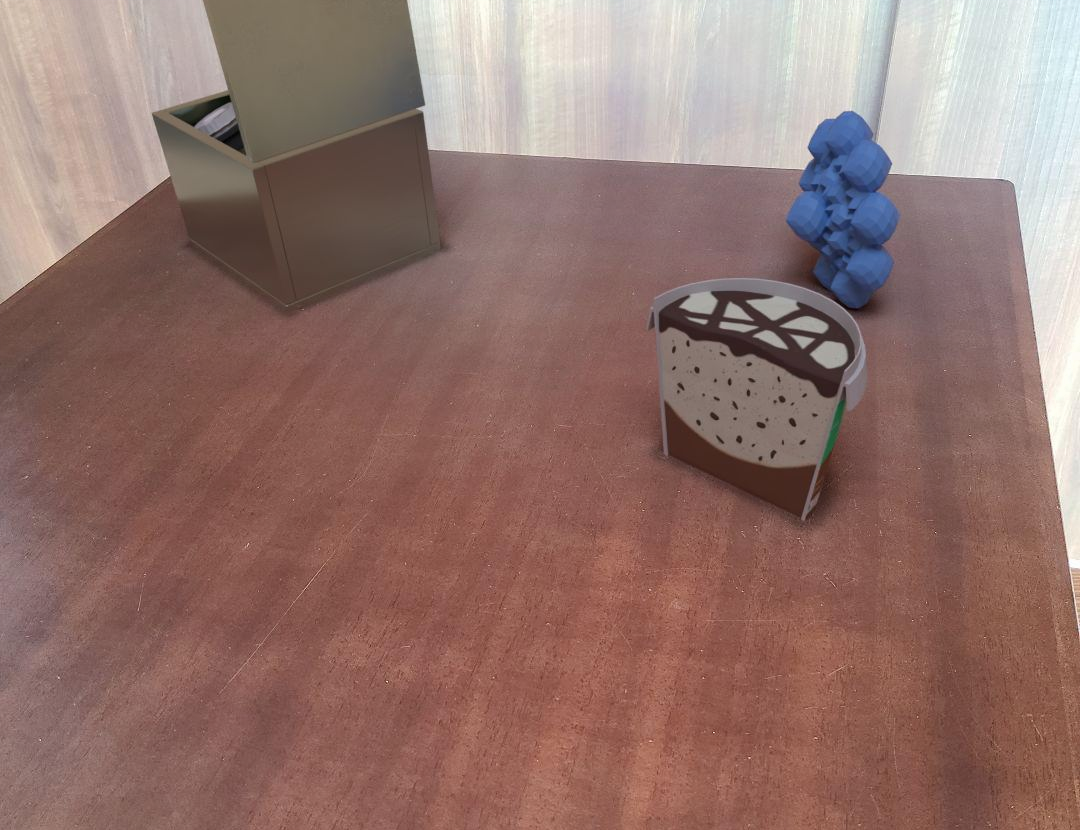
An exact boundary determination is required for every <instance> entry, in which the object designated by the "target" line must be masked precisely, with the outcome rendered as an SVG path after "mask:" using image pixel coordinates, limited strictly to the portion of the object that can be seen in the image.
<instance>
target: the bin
mask: <svg viewBox="0 0 1080 830" xmlns="http://www.w3.org/2000/svg"><path fill="white" fill-rule="evenodd" d="M228 103H231V98H230V95H229V91H228V89H227V90H223V91H220V92H216V93H214V94H213V93H212V94H209V95H207V96H204V97H199V98H197V99H194V100H191V101H190V100H189V101H187V102H183V103H179V104H176V105H174V106H173V105H172V106H170V107H166V108H163V109H160V110H156V111H153V112H151V116H152V120H153V123H154V126H155V129H156V133H157V137H158V139H159V142H160V146H161V149H162V153H163V156H164V159H165V162H166V166H167V169H168V173H169V176H170V179H171V182H172V186H173V189H174V192H175V195H176V199H177V202H178V205H179V209H180V212H181V215H182V219H183V222H184V226H185V228H186V232H187V236H188V239H189V241H190V245H191V246H192V247H193V248H194V249H195V250H197V251H198V252H200V253H201V254H203V255H204V256H206V257H207V258H208V259H210V260H211V261H213V262H214V263H215V264H217V265H218V266H219V267H220V268H223V269H224V270H225V271H226V272H228V273H230V274H231V275H232V276H234V277H236V278H237V279H238V280H240V281H241V282H243V283H244V284H246V285H247V286H248V287H250V288H251V289H252V290H254V291H256V292H257V293H258V294H259V295H261V296H262V297H264V298H266V299H267V301H269V302H271V303H272V304H274V305H275V306H276V307H278V308H279V309H280V310H282V311H284V312H285V313H287V314H290V313H293V312H295V311H297V310H300V309H302V308H305V307H307V306H309V305H311V304H314V303H316V302H318V301H321V300H324V299H326V298H329V297H331V296H333V295H335V294H339V293H340V292H342V291H345V290H347V289H350V288H353V287H354V286H357V285H359V284H362V283H365V282H367V281H369V280H372V279H374V278H376V277H379V276H381V275H383V274H386V273H388V272H391V271H394V270H396V269H398V268H401V267H403V266H406V265H408V264H410V263H413V262H415V261H418V260H419V259H422V258H424V257H426V256H429V255H431V254H434V253H437V252H438V251H441V250H442V246H441V245H442V244H441V237H440V236H441V235H440V229H439V222H438V214H437V206H436V199H435V190H434V184H433V183H434V182H433V178H432V168H431V167H432V166H431V160H430V159H431V158H430V152H429V145H428V144H429V143H428V137H427V131H426V130H427V129H426V121H425V114H424V111H423V110H420V109H419V108H417V109H414V110H411V111H408V112H405V113H402V114H399V115H396V116H393V117H390V118H387V119H384V120H381V121H378V122H375V123H372V124H369V125H366V126H363V127H360V128H357V129H354V130H351V131H348V132H345V133H342V134H339V135H336V136H333V137H330V138H327V139H324V140H321V141H318V142H315V143H312V144H309V145H307V146H304V147H301V148H298V149H295V150H292V151H289V152H286V153H283V154H280V155H277V156H274V157H271V158H268V159H265V160H262V161H260V162H256V163H252V162H249V161H248V158H247V156H246V155H244V154H242V153H240V152H238V151H237V150H235V149H233V148H231V147H229V146H228V145H226V144H224V143H222V142H220V141H218V140H217V139H215V138H213V137H211V136H209V135H207V134H206V133H204V132H202V131H200V130H198V129H196V128H195V126H196V124H197V123H198V122H200V121H201V120H202V119H203V118H205V117H206V116H207V115H209V114H210V113H212V112H213V111H215V110H216V109H218V108H220V107H221V106H223V105H225V104H228Z"/></svg>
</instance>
